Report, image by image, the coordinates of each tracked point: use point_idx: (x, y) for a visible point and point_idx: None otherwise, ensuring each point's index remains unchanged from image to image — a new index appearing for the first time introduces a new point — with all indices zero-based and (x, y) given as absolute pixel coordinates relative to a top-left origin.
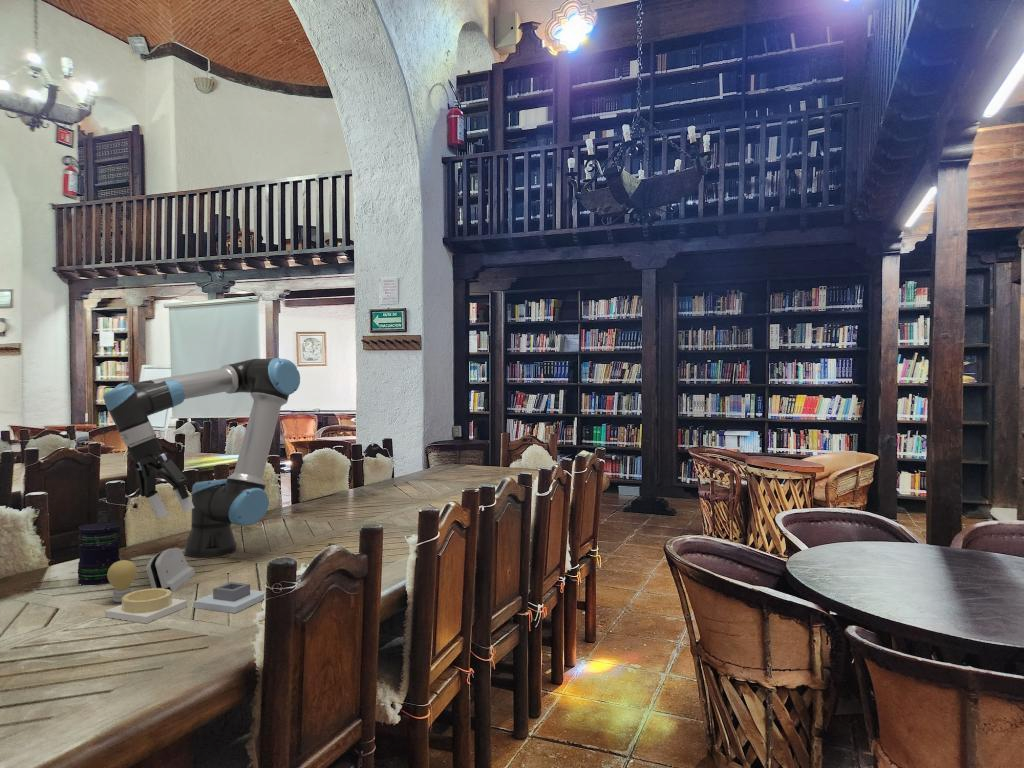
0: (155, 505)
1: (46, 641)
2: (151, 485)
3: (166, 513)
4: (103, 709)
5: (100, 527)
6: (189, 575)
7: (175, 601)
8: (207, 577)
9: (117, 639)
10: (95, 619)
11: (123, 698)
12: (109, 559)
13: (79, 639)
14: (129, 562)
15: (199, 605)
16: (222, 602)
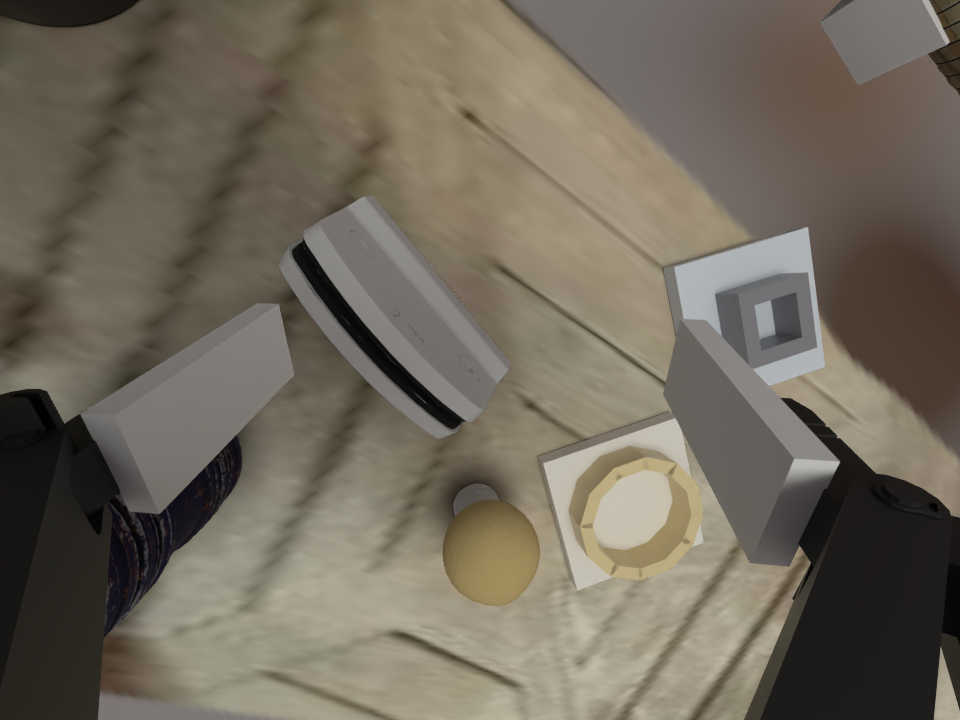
0: (224, 422)
1: (615, 705)
2: (71, 596)
3: (275, 319)
4: (942, 709)
5: None
6: (406, 241)
7: (659, 441)
8: (456, 199)
9: (724, 608)
10: (565, 597)
11: (938, 681)
12: (197, 487)
13: (660, 658)
14: (520, 558)
15: None
16: (771, 366)
